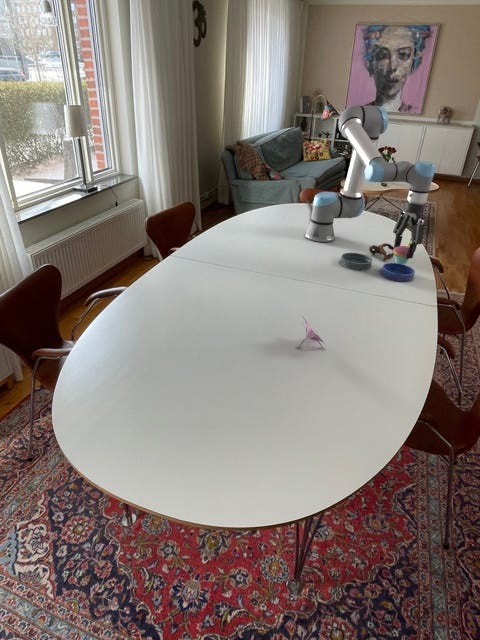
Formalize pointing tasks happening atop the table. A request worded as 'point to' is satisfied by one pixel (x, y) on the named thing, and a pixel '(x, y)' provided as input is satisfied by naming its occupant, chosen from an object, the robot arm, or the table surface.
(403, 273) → the blue dish
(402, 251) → the cupcake
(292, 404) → the table surface
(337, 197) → the robot arm
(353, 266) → the slate dish
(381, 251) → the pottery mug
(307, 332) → the lily
